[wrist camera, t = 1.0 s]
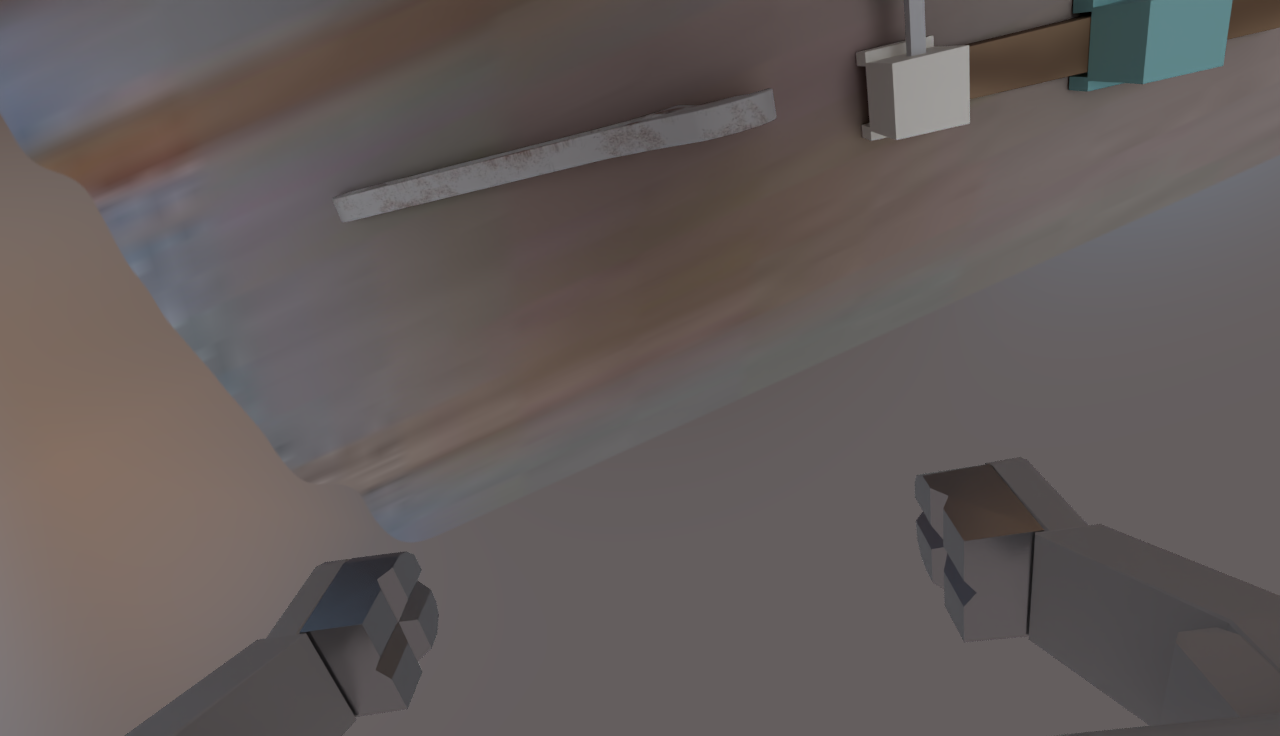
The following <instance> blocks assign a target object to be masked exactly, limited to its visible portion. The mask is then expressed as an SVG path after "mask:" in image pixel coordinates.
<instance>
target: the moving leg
mask: <svg viewBox="0 0 1280 736" xmlns="http://www.w3.org/2000/svg"><path fill="white" fill-rule="evenodd" d="M1232 1H1233V0H1074V1H1073V13H1083V12H1092V14H1091V30H1090V46H1089V61H1088V72H1087V73H1083V74H1078V75H1074V76H1070V78H1069V90H1076V91H1092V90H1096V89H1100V88H1105V87H1109V86H1114V85H1118V84H1122V83H1134V84H1145V83H1149V82H1154V81H1158V80H1162V79H1167V78H1171V77H1176V76H1180V75H1184V74H1189V73H1193V72H1198V71H1202V70H1206V69H1211V68H1215V67H1219V66H1223V63H1224V56H1225V49H1226V43H1227V36H1228V29H1229V22H1230V15H1231V8H1232Z"/></svg>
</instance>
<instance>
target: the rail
mask: <svg viewBox="0 0 1280 736" xmlns="http://www.w3.org/2000/svg"><path fill="white" fill-rule="evenodd" d="M1279 27H1280V0H1233V1H1232V8H1231V15H1230V22H1229V29H1228V36H1227V39H1231V38H1236V37H1240V36H1244V35H1249V34H1253V33H1257V32H1261V31H1266V30H1270V29H1274V28H1279ZM1090 30H1091V14H1090V15H1086V16H1082V17H1078V18H1073V19H1069V20H1065V21H1061V22H1057V23H1053V24H1049V25H1045V26H1040V27H1036V28H1032V29H1028V30H1024V31H1020V32H1016V33H1012V34H1007V35H1003V36H999V37H995V38H991V39H987V40H983V41H979V42H974V43H970V44H966V45H969V76H970V99H973V98H977V97H982V96H986V95H990V94H995V93H999V92H1003V91H1008V90H1012V89H1016V88H1020V87H1025V86H1029V85H1033V84H1038V83H1042V82H1046V81H1051V80H1055V79H1059V78H1064V77H1068V76H1072V75H1076V74H1081V73H1085V72H1088V61H1089V46H1090Z"/></svg>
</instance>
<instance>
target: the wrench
mask: <svg viewBox="0 0 1280 736" xmlns="http://www.w3.org/2000/svg"><path fill="white" fill-rule="evenodd" d="M776 118H777V116H776V109H775V103H774V96H773V89H771V88H768V89H765V90H761V91H758V92H755V93H751V94H745V95H740V96H735V97H731V98H726V99H722V100H718V101H713V102H709V103H705V104H701V105H677V106H673V107H671V108H668V109H665V110H662V111H659V112H655V113H652V114H648V115H645V116H642V117H638V118H635V119H632V120H628V121H625V122H621V123H617V124H614V125H610V126H607V127H603V128H599V129H595V130H591V131H587V132H583V133H579V134H575V135H571V136H568V137H564V138H560V139H556V140H552V141H548V142H544V143H540V144H536V145H532V146H528V147H524V148H520V149H516V150H512V151H508V152H504V153H500V154H496V155H492V156H489V157H485V158H481V159H477V160H473V161H469V162H465V163H461V164H457V165H453V166H449V167H445V168H441V169H437V170H433V171H429V172H425V173H421V174H417V175H414V176H410V177H406V178H402V179H398V180H394V181H390V182H386V183H382V184H378V185H374V186H370V187H367V188H364V189H359V190H355V191H351V192H348V193H345V194H342V195H339V196H336V197H334V198H333V199H332V201H333V203H334V206H335V208H336V210H337V212H338V214H339V217H340V219H341V221H342V222H349V221H353V220H358V219H362V218H366V217H370V216H374V215H378V214H382V213H386V212H391V211H395V210H399V209H403V208H407V207H411V206H415V205H419V204H424V203H428V202H432V201H436V200H440V199H444V198H448V197H452V196H457V195H461V194H465V193H469V192H473V191H477V190H481V189H485V188H489V187H494V186H498V185H502V184H506V183H510V182H514V181H518V180H522V179H527V178H531V177H535V176H539V175H543V174H547V173H551V172H555V171H560V170H564V169H568V168H572V167H576V166H580V165H584V164H588V163H593V162H597V161H601V160H605V159H610V158H615V157H620V156H625V155H630V154H635V153H640V152H645V151H651V150H656V149H662V148H667V147H673V146H679V145H684V144H690V143H696V142H702V141H706V140H711V139H716V138H720V137H724V136H727V135H731V134H735V133H739V132H742V131H745V130H748V129H752V128H755V127H758V126H761V125H763V124H766V123H768V122H771V121H773V120H774V119H776Z"/></svg>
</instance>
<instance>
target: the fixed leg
mask: <svg viewBox="0 0 1280 736" xmlns="http://www.w3.org/2000/svg"><path fill="white" fill-rule="evenodd" d="M904 12H905V34H906V40H904V41H900V42H896V43H892V44H888V45H884V46H880V47H876V48H872V49H868V50H864V51H860V52H856V60H857V66H866V79H867V93H868V107H869V121H870V123H867V124H863V125H862V137H863V138H865V139H868V140H870V141H873V140H878V139H882V138H886V137H889V138H892V139H895V140H899V139H904V138H908V137H912V136H917V135H921V134H926V133H930V132H934V131H939V130H943V129H948V128H952V127H956V126H961V125H965V124H969V123H970V76H969V45H957V46H934V39H933V36H926V32H925V3H924V0H904Z"/></svg>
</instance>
